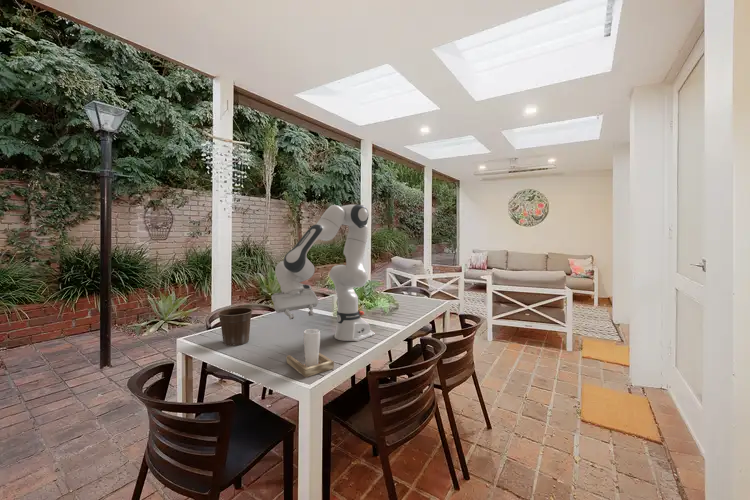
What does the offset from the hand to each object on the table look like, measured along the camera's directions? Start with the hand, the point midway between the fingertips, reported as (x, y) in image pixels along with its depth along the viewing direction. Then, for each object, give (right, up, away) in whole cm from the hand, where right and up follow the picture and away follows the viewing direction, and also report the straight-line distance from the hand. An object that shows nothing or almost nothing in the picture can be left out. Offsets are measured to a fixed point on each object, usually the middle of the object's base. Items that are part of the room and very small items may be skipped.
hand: (302, 316), depth 139 cm
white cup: (+6, -20, -7) cm, 22 cm away
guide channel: (+4, -20, -5) cm, 21 cm away
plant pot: (-39, -18, +23) cm, 49 cm away
